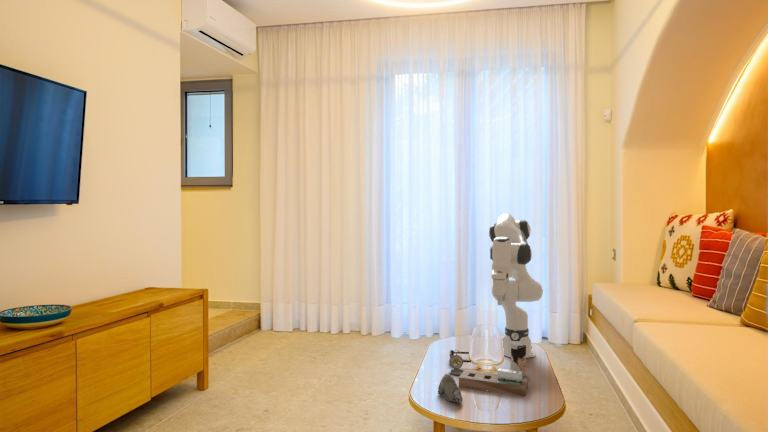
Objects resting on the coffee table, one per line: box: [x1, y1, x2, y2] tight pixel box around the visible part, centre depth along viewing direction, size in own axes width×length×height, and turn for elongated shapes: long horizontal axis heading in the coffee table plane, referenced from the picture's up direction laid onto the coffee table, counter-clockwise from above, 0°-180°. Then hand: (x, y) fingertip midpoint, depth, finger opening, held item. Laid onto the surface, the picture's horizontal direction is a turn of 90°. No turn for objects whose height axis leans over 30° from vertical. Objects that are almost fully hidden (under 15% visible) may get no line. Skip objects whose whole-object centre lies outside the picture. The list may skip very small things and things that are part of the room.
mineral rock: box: [437, 373, 464, 404], centre depth 201 cm, size 13×11×10 cm
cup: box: [510, 341, 527, 378], centre depth 229 cm, size 7×7×15 cm
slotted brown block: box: [458, 369, 529, 397], centre depth 214 cm, size 10×28×4 cm, turn 67°
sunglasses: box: [449, 349, 472, 365], centre depth 247 cm, size 14×15×5 cm
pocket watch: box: [448, 349, 465, 376], centre depth 232 cm, size 8×8×10 cm
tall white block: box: [497, 368, 523, 384], centre depth 212 cm, size 3×10×8 cm, turn 67°
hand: (501, 302), depth 226 cm, fingers open, 8 cm apart
